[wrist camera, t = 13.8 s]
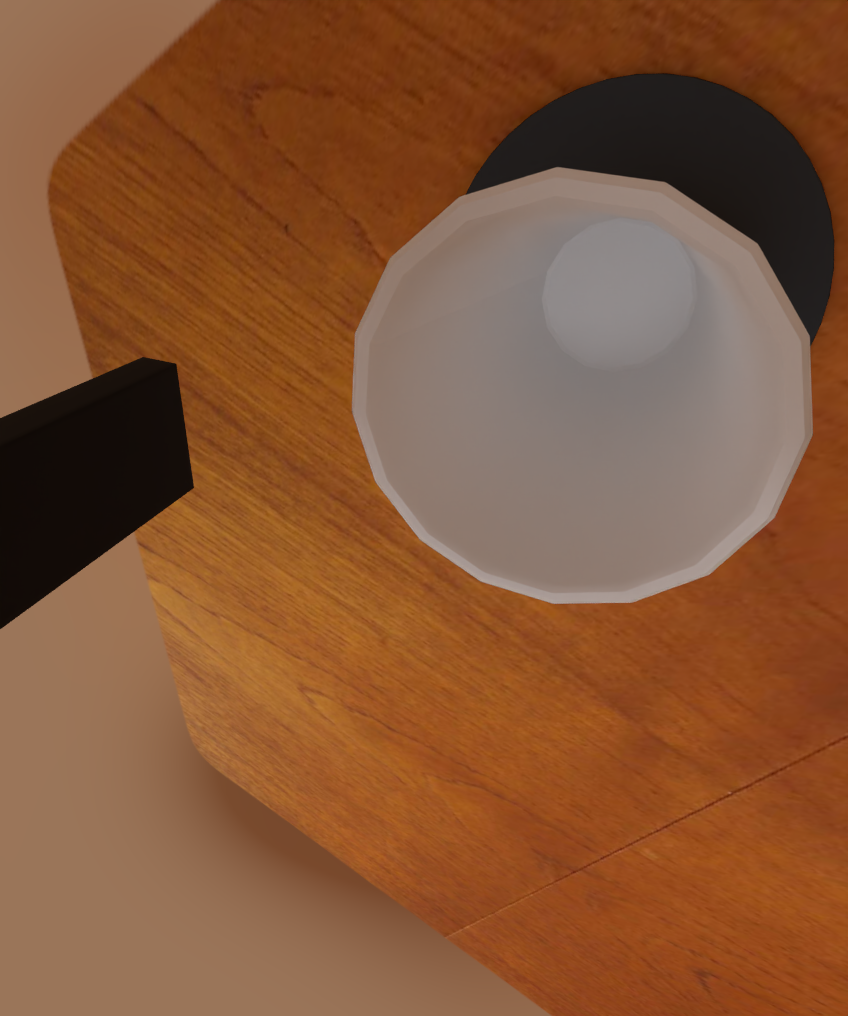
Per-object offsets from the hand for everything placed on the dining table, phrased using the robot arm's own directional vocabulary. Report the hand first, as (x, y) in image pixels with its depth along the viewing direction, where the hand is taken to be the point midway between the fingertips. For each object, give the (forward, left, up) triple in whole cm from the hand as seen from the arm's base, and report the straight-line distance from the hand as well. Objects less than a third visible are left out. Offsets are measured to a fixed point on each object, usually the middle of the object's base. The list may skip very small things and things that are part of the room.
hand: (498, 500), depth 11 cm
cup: (0, 0, -17) cm, 17 cm away
